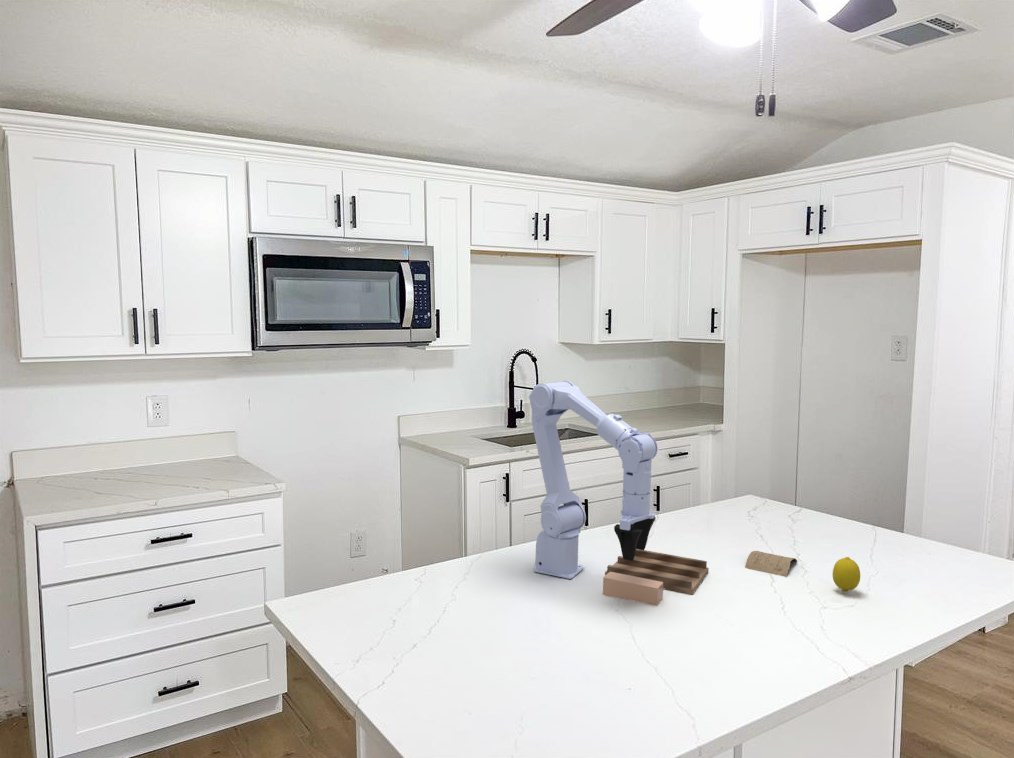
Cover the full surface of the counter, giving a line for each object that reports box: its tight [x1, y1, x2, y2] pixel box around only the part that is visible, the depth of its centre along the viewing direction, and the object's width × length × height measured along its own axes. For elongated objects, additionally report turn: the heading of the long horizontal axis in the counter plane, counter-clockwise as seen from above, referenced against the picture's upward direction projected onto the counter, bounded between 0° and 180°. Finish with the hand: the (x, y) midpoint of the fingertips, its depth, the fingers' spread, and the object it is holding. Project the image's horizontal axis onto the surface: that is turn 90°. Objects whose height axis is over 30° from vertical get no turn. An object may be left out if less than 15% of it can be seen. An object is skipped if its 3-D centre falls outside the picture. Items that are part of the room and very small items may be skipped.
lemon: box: [832, 556, 861, 593], centre depth 164 cm, size 6×6×8 cm
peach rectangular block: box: [602, 572, 664, 607], centre depth 160 cm, size 12×4×4 cm, turn 62°
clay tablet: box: [744, 550, 798, 578], centre depth 181 cm, size 14×10×3 cm
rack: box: [604, 549, 710, 595], centre depth 173 cm, size 20×15×3 cm
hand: (634, 554), depth 159 cm, fingers open, 7 cm apart
